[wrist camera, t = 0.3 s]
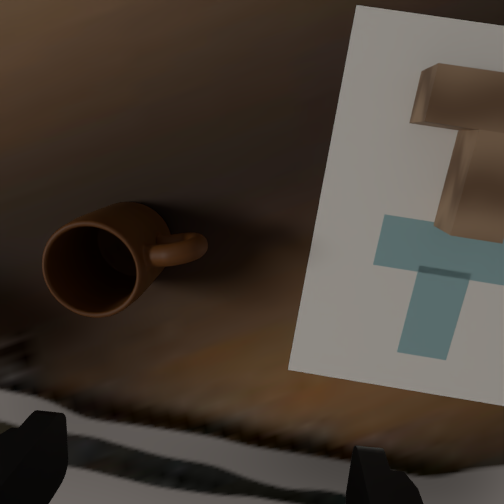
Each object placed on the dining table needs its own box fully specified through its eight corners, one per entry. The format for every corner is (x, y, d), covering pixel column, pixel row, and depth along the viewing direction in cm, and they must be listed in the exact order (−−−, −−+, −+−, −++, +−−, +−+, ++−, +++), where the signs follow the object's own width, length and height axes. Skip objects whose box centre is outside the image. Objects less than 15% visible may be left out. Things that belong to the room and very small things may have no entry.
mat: (356, 5, 34) (356, 5, 34) (668, 50, 33) (671, 49, 33) (288, 368, 42) (288, 369, 42) (536, 410, 42) (537, 411, 41)
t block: (421, 71, 35) (438, 62, 31) (573, 93, 34) (610, 87, 30) (387, 218, 38) (399, 227, 34) (526, 240, 37) (554, 251, 34)
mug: (211, 184, 38) (189, 199, 29) (228, 265, 40) (212, 303, 31) (84, 207, 40) (25, 228, 31) (106, 285, 42) (56, 327, 32)
